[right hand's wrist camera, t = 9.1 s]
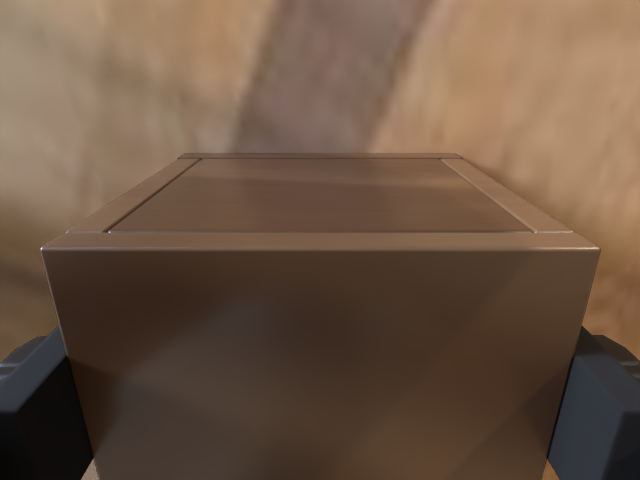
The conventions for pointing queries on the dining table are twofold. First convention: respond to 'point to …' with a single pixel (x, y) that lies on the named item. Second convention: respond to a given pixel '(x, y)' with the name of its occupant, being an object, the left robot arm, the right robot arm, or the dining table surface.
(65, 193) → the dining table surface
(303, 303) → the cabinet
